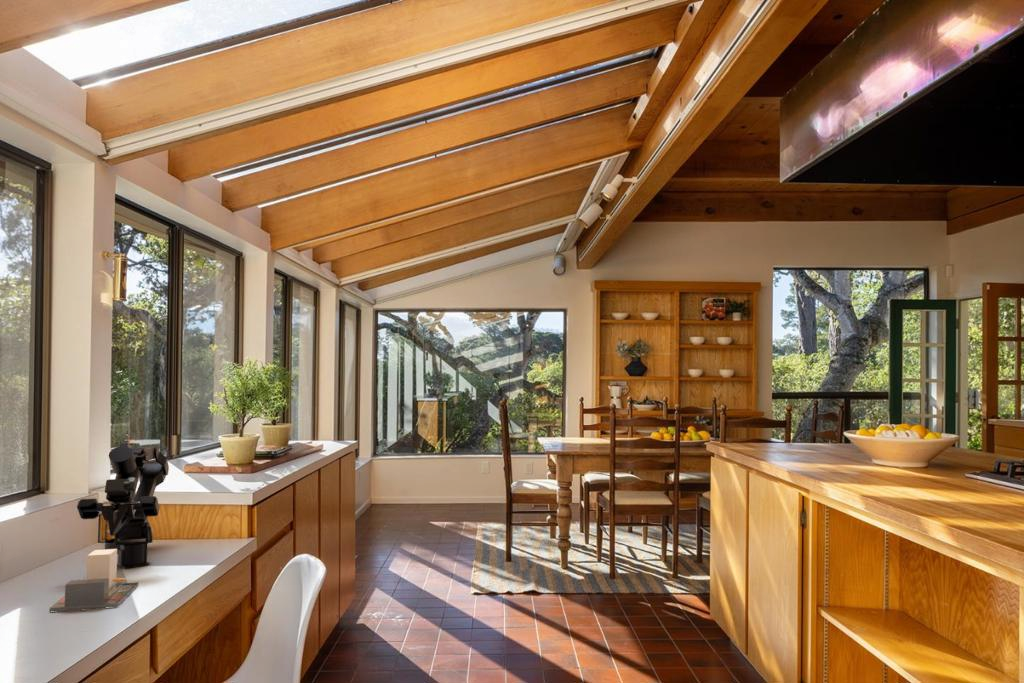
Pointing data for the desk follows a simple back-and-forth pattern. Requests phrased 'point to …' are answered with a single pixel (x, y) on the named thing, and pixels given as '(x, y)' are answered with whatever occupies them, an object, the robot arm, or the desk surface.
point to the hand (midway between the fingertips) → (111, 534)
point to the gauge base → (93, 595)
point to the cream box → (103, 566)
